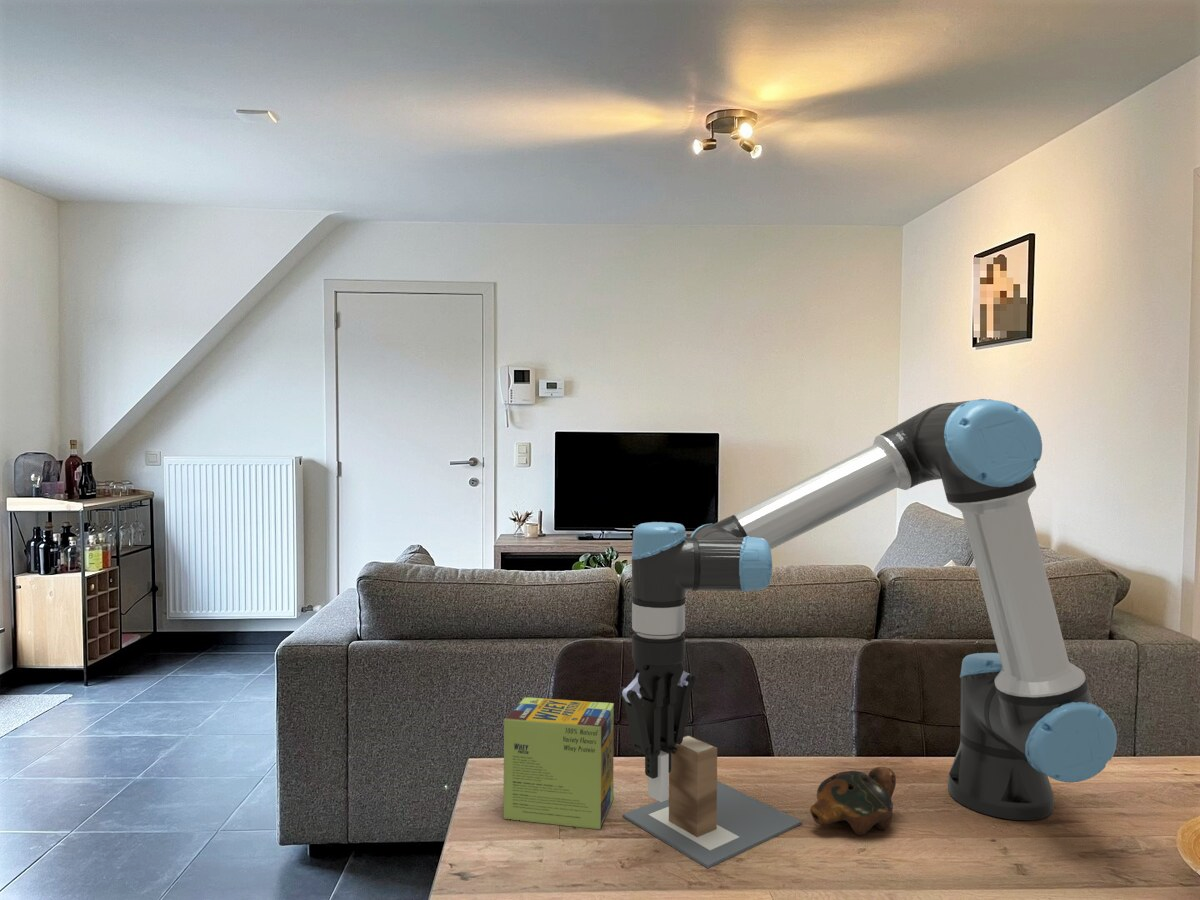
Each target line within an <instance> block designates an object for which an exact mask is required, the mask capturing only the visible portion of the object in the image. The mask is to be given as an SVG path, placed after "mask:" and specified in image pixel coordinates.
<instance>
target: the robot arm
mask: <svg viewBox="0 0 1200 900" xmlns="http://www.w3.org/2000/svg"><path fill="white" fill-rule="evenodd" d="M1042 454H1043V441H1042V436H1041V432H1040V430H1039V428H1038V426H1037V423H1036V422H1035V421H1034V420H1033V418H1032V417H1031V416H1030V415H1029V413H1027V412H1026V411H1024V409H1022V408H1021V407H1018V406H1017V405H1015V404H1012V403H1011V402H1006V401H1004V400H1003V401H1002V400H994V399H986V398H980V399H973V400H972V399H971V400H965V401H964V400H963V401H956V402H945V403H944V402H943V403H939V404H936V405H933V406H931V407H928V408H927V409H924V410H921V411H920V412H919V413H917V414H915V415H914V416H911V417H910V418H907V419H906V420H904V421H902V422H901V423H899V424H897V425H895V426H893V427H892V428H890V429H888V430H887V431H884V432H882V433H880V434H878V435H877V436H875V437H874V440H873V444H872V445H871V446H869V447H866V448H864V449H862V450H861V451H859V452H856V453H855V454H852V455H850V456H848V457H846V458H844V459H843V460H840V461H838V462H836V463H834V464H832V465H831V466H828V467H826V468H824V469H822V470H820V471H818V472H817V473H814V474H812V475H810V476H807V477H806V478H804V479H802V480H800V481H798V482H796V483H793V484H792V485H789V486H788V487H786V488H784V489H781V490H780V491H778V492H776V493H774V494H771V495H769V496H768V497H766V498H764V499H762V500H760V501H757V502H756V503H754V504H752V505H750V506H748V507H746V508H744V509H742V510H739V511H738V512H735V513H734V514H732V515H730V516H728V517H725V518H723V519H721V520H720V521H717V522H715V523H706V524H701V526H698V527H697V528H696V529H694V531H693V532H692V533H691V535H690V536H687V535H688V534H687V533H686V528H685V526H684V525H683V524H682V523H677V522H665V521H659V522H658V521H651V522H644V523H643V522H642V523H640V524H638V525H636V526H635V528H634V529H633V531H632V548H631V593H632V596H631V602H632V603H631V628H632V631H634V632H633V634H632V635H631V657H632V659H633V662H634V670H633V672H632V681H631V682H630V683H629V684H628V685H627V686H626V687H625V686H621V687H620V688H618V695H619V696H620V698H621V699H622V701H623V703H624V708H625V712H626V718H627V723H628V728H629V732H630V737H631V738H630V739H631V743H632V748H633V750H634V751H637V752H638V753H641V754H642V755H644V773H645V776H646V777H647V796H648V797H650V798H652V799H654V800H656V801H659V802H663V801H666V800H668V799H669V773H670V771H671V753H673V754H675V753H676V752H677V748H676V747H674V746H675V745H676V744H681V743H682V741H683V737H685V736H684V735H685V730H686V729H685V728H686V724H687V717H688V711H689V706H690V705H689V704H690V699H691V694H692V690H693V689H694V685H695V683H696V681H697V677H696V675H695V674H692V673H689V672H686V671H685V669H684V665H683V661H684V660H685V658H686V636H685V635H684V633H683V632H685V631H686V592H687V591H688V592H689V591H692V592H697V591H706V592H709V591H711V592H712V591H713V592H715V591H717V592H718V591H719V592H721V591H723V592H724V591H725V592H727V591H728V592H743V593H747V592H751V591H752V592H753V591H763V590H765V589H767V588H768V587H769V586H770V584H771V581H772V578H773V577H772V575H773V556H772V549H775V548H777V547H779V546H780V545H782V544H785V543H786V542H787V543H788V542H789V541H791V540H793V539H795V538H797V537H799V536H801V535H803V534H805V533H807V532H809V531H811V530H813V529H816V528H817V527H819V526H821V525H823V524H825V523H828V522H830V521H832V520H834V519H836V518H838V517H840V516H841V515H844V514H845V513H846V514H847V513H848V512H850V511H852V510H854V509H856V508H859V507H860V506H862V505H864V504H866V503H868V502H870V501H872V500H874V499H877V498H879V497H880V496H883V495H885V494H887V493H888V492H890V491H892V490H895V489H900V490H904V491H908V490H911V488H913V487H915V486H918V485H921V484H924V483H927V482H929V481H935V480H941V481H942V485H943V486H942V487H943V489H944V494H945V496H946V497H945V498H946V502H947V503H948V504H949V505H951V506H952V507H954V508H956V509H958V510H959V511H960V512H961V514H962V518H963V522H964V524H965V529H966V533H967V537H968V540H969V545H970V548H971V552H972V556H973V559H974V564H975V568H976V572H977V575H978V580H979V583H980V586H981V591H982V595H983V599H984V602H985V605H986V611H987V613H988V619H989V622H990V625H991V630H992V633H993V637H994V640H995V644H996V648H997V652H976V653H970V654H968V655H966V656H965V657H964V658H962V661H961V667H960V668H961V669H960V674H959V678H960V740H959V741H960V743H959V747H958V749H957V750H956V755H955V757H954V760H953V762H952V764H951V767H950V769H949V772H948V775H947V776H948V777H947V783H948V784H947V792H948V793H949V795H950V796H951V798H952V799H954V800H955V801H956V802H958V803H959V804H960V805H962V806H965V807H966V808H969V809H971V810H972V811H976V812H978V813H979V814H980V813H981V814H983V815H987V816H992V817H996V818H999V819H1000V818H1001V819H1005V820H1015V821H1034V820H1041V819H1044V818H1047V817H1049V816H1050V815H1051V814H1052V813H1053V812H1054V807H1055V805H1054V803H1055V801H1054V800H1055V799H1054V798H1055V797H1054V791H1053V789H1052V788H1053V787H1052V786H1051V782H1050V780H1049V778H1051V779H1053V780H1055V781H1058V782H1062V783H1078V782H1079V783H1080V782H1084V781H1087V780H1090V779H1091V778H1094V777H1095V776H1097V775H1099V774H1100V773H1101V772H1102V771H1103V770H1105V768H1106V766H1107V764H1108V762H1109V761H1111V760H1112V759H1113V758H1114V755H1115V751H1116V749H1117V742H1118V736H1117V729H1116V726H1115V723H1114V722H1113V720H1112V719H1111V718H1110V716H1109V715H1108V714H1107V713H1106V711H1105V710H1103V709H1102V708H1101V707H1100V706H1098V705H1096V704H1094V703H1093V700H1092V696H1091V692H1090V689H1089V685H1088V681H1087V678H1086V675H1085V672H1084V671H1083V670H1082V669H1081V668H1080V667H1078V666H1076V665H1075V664H1073V663H1071V662H1070V661H1069V657H1068V653H1067V649H1066V645H1065V642H1064V641H1065V640H1064V638H1063V635H1062V634H1063V633H1062V630H1061V625H1060V622H1059V618H1058V614H1057V610H1056V605H1055V602H1054V598H1053V594H1052V591H1051V586H1050V582H1049V579H1048V575H1047V571H1046V566H1045V564H1044V559H1043V556H1042V551H1041V548H1040V544H1039V539H1038V536H1037V532H1036V528H1035V524H1034V521H1033V517H1032V513H1031V509H1030V508H1031V507H1030V505H1029V504H1030V503H1029V498H1030V496H1031V495H1032V494H1033V492H1034V491H1035V490H1036V489H1037V483H1036V482H1037V481H1036V479H1035V474H1034V472H1035V471H1036V468H1037V467H1038V466H1037V464H1038V462H1039V461H1040V460H1041V457H1042Z"/></svg>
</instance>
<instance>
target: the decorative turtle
mask: <svg viewBox="0 0 1200 900" xmlns="http://www.w3.org/2000/svg"><path fill="white" fill-rule="evenodd" d="M896 780H897V777H896V774H895V772H894V770H893V769H891V768H890V767H886V766H876V767H874V768H873V769H871V770H870V772H869V774H866V773H863V772H861V771H857V770H848V771H847V770H846V771H841V772H838V773H835V774H833V775H830V776H829V777H827V778H826V779H824V780H823V781H822V782H821V783H820V784H819V786H818V787H817V790H816V800H817V801H816V802H815V803H814V804H813V805H811V806H810V809H809V812H810V814H811V817H812V819H813V820H814V822H815V823H816V824H818V825H820V826H827V825H830V824H834V823H838V822H840V821H846V822H847V823H848V824H849V825H850V827H851V829H852V830H853V832H854V833H855V834H856V835H857V836H861V837H862V836H864V835H865V834H866V833H868V832H869V831H870V830H871V828H873V826H875V828H877V829H878V830H880V831H885V830H887V829H888V828H889V825H890V823H891V820H892V815H893V809H894V807H893V806H894V805H893V804H894V803H893V801H892V796H893V795H894V792H895V788H896V785H897V784H896V783H897V781H896Z"/></svg>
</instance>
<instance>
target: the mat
mask: <svg viewBox="0 0 1200 900" xmlns="http://www.w3.org/2000/svg"><path fill="white" fill-rule="evenodd" d="M622 818H624V819H625V820H627V821H628V822H630V823H632V824H634V825H636V826H637V827H638V828H640V829H642V830H644V831H646V833H649V834H651V836H653V837H655V838H657V839H658V840H660V841H662V842H663V843H665V844H667V845H668V846H669V847H672V848H673V849H675V850H676V851H678V852H679V853H681V854H683V855H685V856H686V857H688V858H690V859H692V860H693V861H694V862H696V863H697V864H699V865H701V866H703V867H704V868H706V869H710V868H712V867H714V866H716V865H718V864H720V863H723V862H725V861H727V860H729V859H731V858H733V857H735V856H737V855H739V854H741V853H744V852H746V851H747V850H750V849H752V848H754V847H757V846H758V845H760V844H762V843H763V844H764V843H765V842H767V841H769V840H771V839H773V838H775V836H776V837H778V836H779V835H782V834H784V833H786V832H788V831H790V830H792V829H794V827H795V828H797V827H799V826H801V825H803V821H802V820H800V819H798V818H797V817H794V816H792V815H790V814H788V813H786V812H784V811H781V810H779V809H777V808H776V807H773V806H770V805H769V804H767V803H764V802H763V801H761V800H759V799H757V798H754V797H752V796H751V795H748V794H746V793H745V792H742V791H739V790H738V789H736V788H734V787H731V786H729V785H727V784H725V783H723V782H721V781H719V780H717V829H716V830H713V831H711V832H709V833H706V834H704V835H702V836H699V837H696V836H694V835H692V834H690V833H689V832H687V831H685V830H683V829H682V828H680V827H678V826H676V825H675V824H673V823H671V822H669V799H668V800H666V801H663V802H659V801H657V800H656V801H654V802H652V803H649V804H647V805H643V806H641V807H638V808H635V809H633V810H631V811H628V812H625V813H623V814H622ZM800 824H801V825H800ZM798 825H799V826H798ZM796 826H797V827H796Z"/></svg>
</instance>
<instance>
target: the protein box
mask: <svg viewBox="0 0 1200 900" xmlns="http://www.w3.org/2000/svg"><path fill="white" fill-rule="evenodd" d="M614 705H615V703H613V702H601V701H600V702H599V701H598V702H597V701H583V700H572V699H555V698H554V699H553V698H539V697H523V698H522V700H521V701H519V703H518V704H517V705H516V706H515V708H513V709H512V711H510V713H509V714H508V715H506V717H505V718H504V719H503V804H502V805H503V809H502V815H503V816H502V817H503V820H510V819H511V820H512V821H519V820H520V821H521V822H527V823H528V822H529V823H539V824H547V825H554V826H555V825H557V826H565V827H566V826H567V827H573V828H584V829H593V830H601V829H602V827H603V824H604V822H605V819H606V817H607V815H608V812H609V811H610V807H611V806H612V803H613V801H614V793H615V792H614V787H615V786H614V781H615V780H614V713H615V712H614V711H615V710H614V709H615V708H614V707H615V706H614ZM520 821H519V822H520Z"/></svg>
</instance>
